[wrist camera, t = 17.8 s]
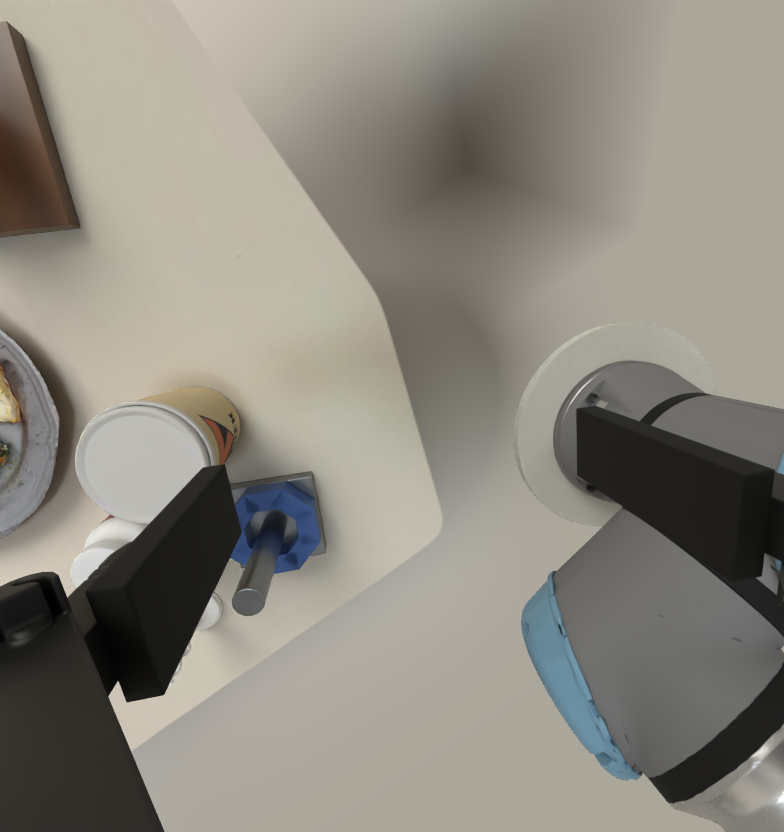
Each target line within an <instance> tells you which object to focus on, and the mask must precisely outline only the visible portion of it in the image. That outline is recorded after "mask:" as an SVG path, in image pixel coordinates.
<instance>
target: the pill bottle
mask: <svg viewBox="0 0 784 832" xmlns="http://www.w3.org/2000/svg"><path fill="white" fill-rule="evenodd" d="M148 525H149V524H141V523H133V522H129V521H125V520H122V519H119V518H117V517H114V516H112V515H110V516H108V517H107V518H106V519H105V520H104V521H103V522H102V523H100V524H99V525H98V526H97V527H96V528H95V529H94V530H93V531H92V532H91V533H90V535H89V536H88V538H87V540H86V542H85V545H84V550H83V551H82V552H81V553H80V554H79V555H78V556H77V557H76V558H75V560H74V561H73V563H72V566H71V571H70V573H71V579H72V581H73V584H74V585H75V587H76V588H78V587H79V586H80V585H81V584H82V583H83V582H84V581H85V580H88V576H89V575H90V574H91V573H92V572H93V571H94V570H95V569H98V566H99V565H100V564H101V563H102V562H103V561H104V560H105V559H106V558H107V557H108V556H109V555H110V554H112V553H113V552H115V551H116V550H118V549H119V548H121V547H122V546H124V545H125V544H127V543H128V542H132V541H133V540H134V539H135V538H136V537H137V536H138V535H139V534H140V533H141V532H142V531H143V530H144V529H145V528H146V527H147V526H148Z"/></svg>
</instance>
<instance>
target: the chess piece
mask: <svg viewBox="0 0 784 832" xmlns="http://www.w3.org/2000/svg"><path fill="white" fill-rule="evenodd" d="M222 609H223V607H222V602H221V600H220V599H219V597H218V596H217V595H216V594H215V593H213V594H212V596H211V598H210V600H209V602H208V604H207V607H206V609H205V611H204V613H203V615H202V617H201V619H200V621H199V623H198V625H197V627H196V629H195V631H196V630H203V629H207V628H209V627H211V626H213V625H214V624H215V623H216V622H217V620H218V619H219V617H220V616H221V614H222ZM190 650H191V644H190V642H189V644H188V646H187V648H186V650H185V652H184V654H183V657H184V656H186V655H187V654H188V653H189V652H190ZM181 666H182V659H181V661H180V663H179V665H178V667H177V669H176V671H175V673H174V675H173V676H175V675H177V674H178V673H179V672H180V670H181ZM173 682H174V679H171V682H170V684H169V686H168V687H170V686H171V685H172V684H173Z"/></svg>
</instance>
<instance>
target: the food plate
mask: <svg viewBox="0 0 784 832" xmlns="http://www.w3.org/2000/svg"><path fill="white" fill-rule="evenodd" d="M33 364H34V363H33V362H32V360H31V359H30V358H28V355H27V354H26V353H25V352H24V351H23V350H22V349H21V347H20V346H19V345H18V344H16V342H15V341H14V340H13V339H12V338H10V337H9V336H8V335H7V333H5V332H4V331H3V330H1V329H0V539H1V538H2V537H4V536H6V535H9V534H10V533H11V532H12V531H13V530H15V529H16V528H17V527H19V525H20V523H22V521H24V520H25V519H26V518H28V516H30V515H31V513H34V512H35V511H36V509H37V508H38V506H39V505H40V504H41V502H42V499H43V498H44V497H45V496H46V492H47V490H48V489H49V485H51V481H52V478H53V473H54V468H55V465H56V462H55V460H57V459H56V456H57V451H58V449H57V448H58V442H59V441H58V440H59V437H58V435H59V425H60V424H59V421H60V419H59V416H58V411H57V409H56V407H55V403H54V402H53V400H52V398H50V392H49V391H48V389H47V386H46V385H45V383H44V380H43V378H42V377H41V376H40V372H39V370H37V368H35V365H33ZM43 500H44V499H43Z"/></svg>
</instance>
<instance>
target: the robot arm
mask: <svg viewBox="0 0 784 832" xmlns="http://www.w3.org/2000/svg"><path fill="white" fill-rule="evenodd" d="M553 448H554V454H555V457H556V461H557V463H558V465H559V467H560V469H561V471H562V472H563V474H564V475H565V476H566V478H567V479H568V480H569V481H570V482H571V483H573V484H574V485H575V486H577V487H578V488H579V489H581V490H582V491H584V492H585V493H587V494H589V495H591V496H593V497H595V498H598V499H600V500H603V501H607V502H612V503H617V504H619V505H621V506H622V507H623V508H621V509H620V510H619V511H618V512H617V513H616V514H615V515H614V516H613V517H612V518H611V519H610V520H609V521H608V522H607V523H606V524H605V525H604V526H603V527H602V528H601V529H600V530H599V531H598V532H597V533H596V534H595V535H594V536H593V537H592V538H591V539H590V540H589V541H588V542H587V543H586V544H585V545H584V546H583V547H582V548H581V549H580V550H579V551H578V552H576V553H575V554H574V555H573V556H572V557H571V558H570V559H569V560H568V561H567V562H566V563H565V564H564V565H563V566H562V567H561V568H560V569H559V570H558V571H552V572H551V573H550V574H549V576H548V580H547V581H546V582H545V584H544V585H543V586H542V587H541V588H540V589H539V590H538V591H537V593H536V594H535V595H534V596H533V597H532V598H531V599H530V600H529V601H528V602H527V604H526V605H525V607H524V609H523V612H522V620H521V626H522V633H523V637H524V641H525V643H526V647H527V650H528V653H529V656H530V658H531V660H532V662H533V665H534V667H535V669H536V671H537V673H538V675H539V677H540V679H541V681H542V683H543V685H544V686H545V688H546V690H547V692H548V693H549V695H550V697H551V698H552V700H553V702H554V704H555V705H556V707H557V709H558V710H559V712H560V713H561V715H562V716H563V718H564V719H565V721H566V722H567V724H568V725H569V727H570V728H571V730H572V731H573V732H574V734H575V735H576V736H577V738H578V739H579V740H580V742H581V743H582V744H583V746H584V747H585V748H586V749H587V750H588V751H589V752H590V753H592V754H594V755H595V757H596V758H597V760H598V761H599V763H600V764H601V766H602V767H603V768H604V769H605V770H606V771H608V772H609V773H610V774H611V775H613V776H615V777H616V778H618V779H621V780H629V779H634V780H637V779H638V778H639V777H640V776H642V773H644V774H645V775H646V776H647V777H648V778H649V780H650V781H651V782H652V783H653V785H654V786H655V787H656V788H657V790H658V791H659V792H660V793H661V794H662V796H663V797H664V798H665V799H666V801H667V802H668V803H669V804H670V805H671V806H672V807H673V808H674V809H676V810H680V811H683V812H686V813H689V814H692V815H696V816H699V817H702V818H705V819H708V820H712V821H713V822H715V823H717V824H719V825H720V826H721V827H722V828H723V829H724V830H725V832H784V653H783V651H782V650H781V648H782V647H783V646H784V409H780V408H774V407H770V406H765V405H760V404H755V403H750V402H745V401H740V400H735V399H730V398H725V397H720V396H715V395H711V394H706V393H705V392H704V391H702V390H701V389H699V388H698V387H696V386H695V385H693V384H692V383H690V382H689V381H687V380H686V379H684V378H682V377H681V376H680V375H679V374H677V373H676V372H674V371H672V370H670V369H668V368H665V367H663V366H660V365H657V364H654V363H649V362H643V361H635V360H627V361H619V362H614V363H611V364H607V365H605V366H603V367H600V368H598V369H597V370H595V371H593V372H591V373H590V374H588V375H587V376H586V377H584V378H583V379H582V380H581V381H580V382H579V383H578V384H577V385H576V386H575V387H574V388H573V389H572V390H571V392H570V393H569V394H568V395H567V397H566V399H565V400H564V402H563V404H562V406H561V408H560V410H559V412H558V415H557V418H556V421H555V425H554V431H553ZM241 534H242V531H241V527H240V523H239V519H238V515H237V511H236V507H235V503H234V499H233V495H232V491H231V487H230V483H229V479H228V475H227V471H226V467H225V464H221V465H215V466H209V467H203V468H202V469H201V470H200V471H199V472H198V473H197V474H196V475H195V476H194V477H193V478H192V479H191V480H190V481H189V482H188V483H187V484H186V486H185V487H184V488H183V489H182V490H181V491H180V492H179V493H178V494H177V495H176V496H175V497H174V498H173V499H172V500H171V501H170V502H169V503H168V505H167V506H166V507H165V508H164V509H163V510H162V511H161V512H160V513H159V514H158V515H157V516H156V517H155V518H154V519H153V520H152V521H151V522H150V523H149V525H148V526H147V527H146V528H145V529H144V530H143V531H142V532H141V533H140V534H139V535H138V536H137V537H136V538H135V539H134V540H133V541H132V542H128V543H127V544H125V545H124V546H122V547H121V548H119V549H118V550H116V551H115V552H113V553H112V554H110V555H109V556H108V557H107V558H106V559H105V560H104V561H103V562H102V563H101V564H100V565H99V566H98V569H95V570H94V571H93V572H92V573H91V574H90V575H89V576H88V580H85V581H84V582H83V583H82V584H81V585H80V586H79V587H78V588H77V589H76V590H75V591H74V592H73V593H72V594H71V595H70V596H69V597H68V598H67V596H66V593H65V591H64V588H63V586H62V583H61V581H60V578H59V576H58V575H57V574H56V573H54V572H41V573H36V574H32V575H28V576H25V577H22V578H19V579H16V580H14V581H11V582H9V583H7V584H5V585H3V586H1V587H0V832H164V830H163V827H162V825H161V822H160V820H159V818H158V815H157V813H156V810H155V808H154V806H153V804H152V801H151V798H150V796H149V794H148V792H147V789H146V786H145V784H144V782H143V779H142V777H141V774H140V772H139V770H138V767H137V765H136V762H135V760H134V758H133V755H132V753H131V750H130V748H129V746H128V743H127V741H126V738H125V736H124V734H123V731H122V729H121V726H120V724H119V722H118V719H117V717H116V714H115V712H114V710H113V707H112V705H111V702H110V700H109V698H108V696H109V694H110V693H111V691H112V689H113V688H114V686H115V685H116V683H117V681H119V683H120V686H121V689H122V691H123V694H124V697H125V699H126V702H131V701H136V700H142V699H147V698H152V697H157V696H162V695H164V694H165V692H166V690H167V688H168V686H169V684H170V682H171V679H172V677H173V675H174V673H175V671H176V669H177V667H178V665H179V663H180V661H181V659H182V657H183V654H184V652H185V650H186V648H187V646H188V644H189V642H190V640H191V638H192V636H193V634H194V632H195V629H196V627H197V625H198V623H199V621H200V619H201V617H202V615H203V613H204V611H205V609H206V607H207V604H208V602H209V600H210V598H211V596H212V594H213V592H214V590H215V588H216V586H217V584H218V582H219V580H220V577H221V575H222V573H223V571H224V569H225V567H226V565H227V563H228V561H229V559H230V557H231V555H232V552H233V550H234V548H235V546H236V544H237V542H238V540H239V538H240V536H241Z"/></svg>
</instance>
